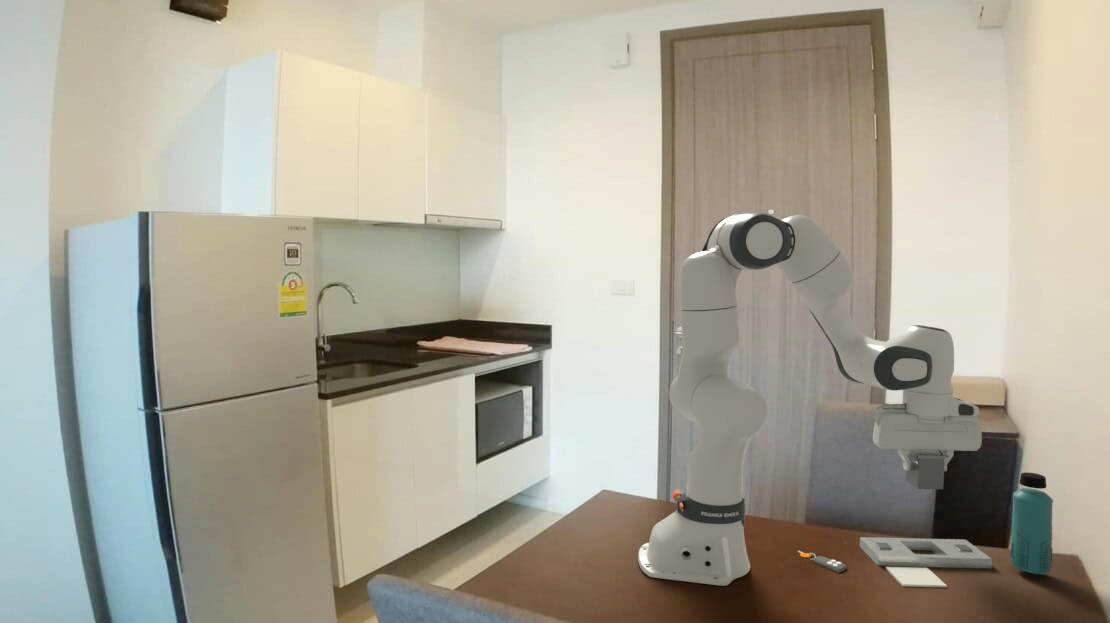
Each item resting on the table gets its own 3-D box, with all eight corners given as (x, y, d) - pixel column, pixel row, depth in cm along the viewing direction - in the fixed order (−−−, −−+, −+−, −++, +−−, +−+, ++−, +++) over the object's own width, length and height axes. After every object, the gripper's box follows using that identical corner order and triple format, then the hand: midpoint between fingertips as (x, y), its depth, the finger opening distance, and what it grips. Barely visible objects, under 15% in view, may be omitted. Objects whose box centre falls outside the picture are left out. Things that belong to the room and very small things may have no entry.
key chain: (848, 570, 125) (848, 563, 125) (838, 575, 123) (838, 568, 123) (790, 547, 136) (790, 541, 136) (780, 552, 134) (780, 545, 133)
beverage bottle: (1058, 583, 118) (1063, 481, 117) (1019, 580, 120) (1023, 478, 118) (1039, 567, 125) (1043, 470, 123) (1002, 565, 126) (1006, 468, 125)
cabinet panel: (877, 565, 126) (878, 554, 126) (859, 546, 135) (859, 535, 135) (991, 568, 125) (991, 557, 124) (965, 548, 134) (965, 538, 133)
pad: (902, 586, 118) (902, 584, 118) (885, 568, 125) (885, 566, 125) (946, 587, 117) (946, 585, 117) (927, 569, 124) (927, 567, 124)
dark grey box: (917, 489, 126) (918, 455, 126) (904, 480, 132) (905, 447, 131) (944, 489, 126) (946, 455, 126) (930, 480, 131) (932, 448, 131)
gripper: (881, 406, 125) (879, 473, 126) (987, 408, 124) (984, 476, 125) (868, 400, 132) (866, 464, 133) (969, 401, 130) (966, 466, 131)
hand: (924, 470), depth 129 cm, fingers closed on dark grey box, 5 cm apart
